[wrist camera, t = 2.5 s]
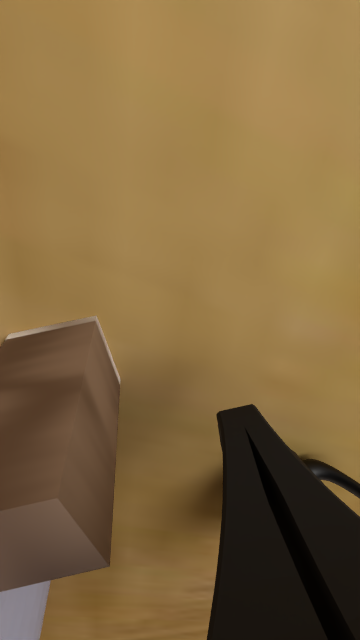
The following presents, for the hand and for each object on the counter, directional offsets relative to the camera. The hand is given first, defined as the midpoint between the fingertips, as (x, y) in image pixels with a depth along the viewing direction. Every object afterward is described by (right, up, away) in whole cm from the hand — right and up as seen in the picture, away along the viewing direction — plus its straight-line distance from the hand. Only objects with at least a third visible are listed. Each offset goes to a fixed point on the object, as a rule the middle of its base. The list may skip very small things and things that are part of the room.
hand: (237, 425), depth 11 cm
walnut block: (-8, +2, +5) cm, 10 cm away
